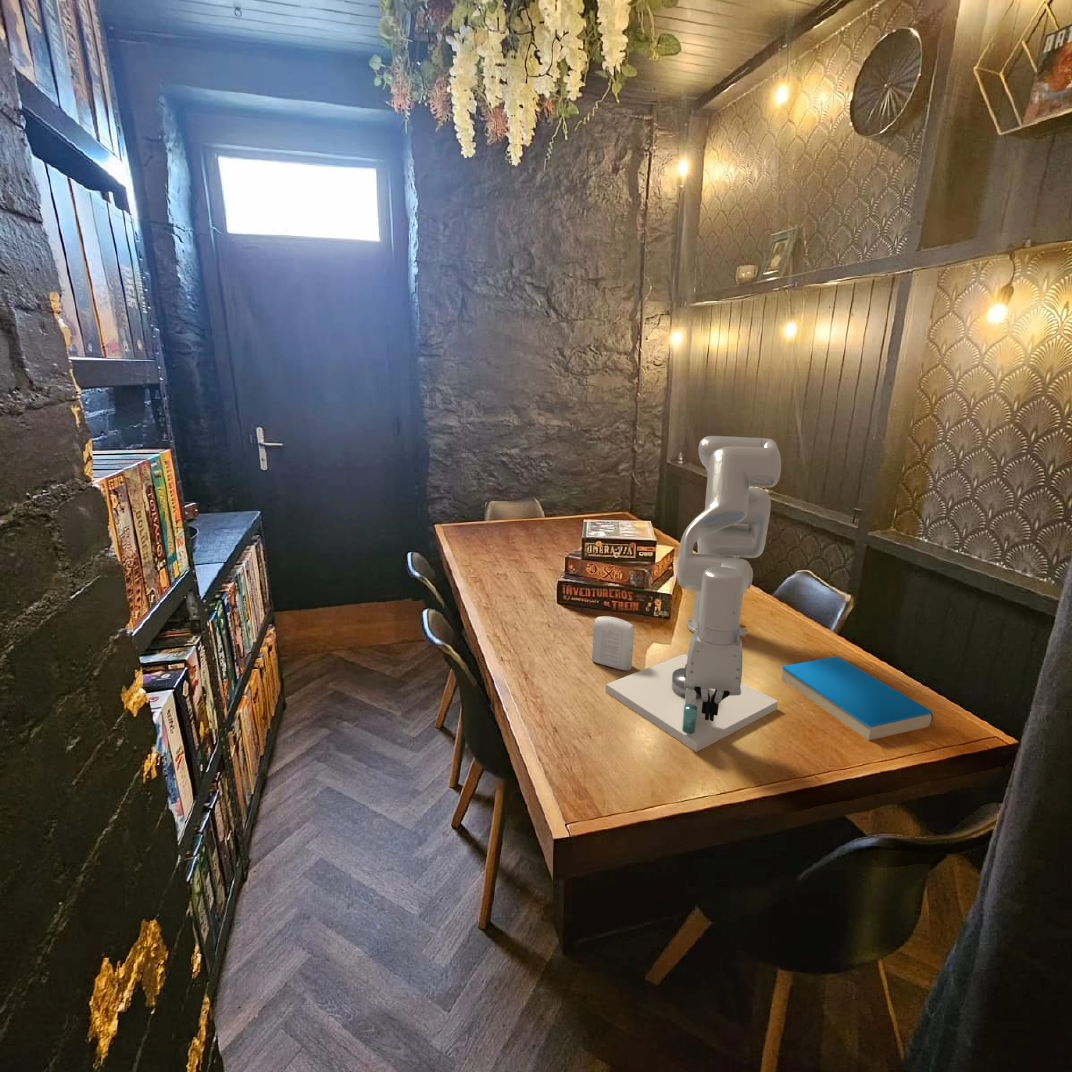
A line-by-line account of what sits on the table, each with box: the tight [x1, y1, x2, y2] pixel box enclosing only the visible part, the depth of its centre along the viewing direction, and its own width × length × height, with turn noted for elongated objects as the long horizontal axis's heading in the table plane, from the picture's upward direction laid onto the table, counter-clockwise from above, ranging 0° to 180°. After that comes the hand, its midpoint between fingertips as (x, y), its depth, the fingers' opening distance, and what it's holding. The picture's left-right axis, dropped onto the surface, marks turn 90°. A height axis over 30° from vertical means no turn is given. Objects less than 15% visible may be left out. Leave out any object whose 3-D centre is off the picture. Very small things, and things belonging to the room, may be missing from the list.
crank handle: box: [672, 664, 709, 734], centre depth 120 cm, size 22×8×6 cm, turn 164°
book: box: [781, 656, 934, 741], centre depth 127 cm, size 17×4×25 cm
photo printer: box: [591, 615, 635, 672], centre depth 141 cm, size 10×4×12 cm, turn 60°
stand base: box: [605, 653, 779, 753], centre depth 127 cm, size 26×26×2 cm
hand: (709, 716), depth 114 cm, fingers closed
